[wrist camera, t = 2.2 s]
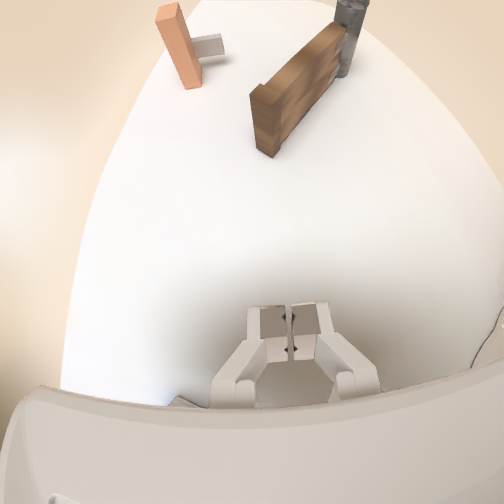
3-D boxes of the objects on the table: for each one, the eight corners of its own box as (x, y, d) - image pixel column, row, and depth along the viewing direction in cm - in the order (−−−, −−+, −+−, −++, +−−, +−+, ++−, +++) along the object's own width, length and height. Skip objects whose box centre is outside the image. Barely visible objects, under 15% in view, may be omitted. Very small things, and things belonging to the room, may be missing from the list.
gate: (322, 71, 30) (332, 16, 20) (336, 79, 29) (351, 24, 20) (256, 148, 29) (249, 94, 20) (272, 157, 29) (271, 105, 19)
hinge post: (345, 61, 30) (366, -18, 17) (351, 78, 30) (377, -3, 16) (321, 61, 31) (335, -22, 17) (326, 78, 30) (344, -8, 16)
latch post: (227, 62, 31) (211, -8, 19) (228, 83, 31) (210, 9, 19) (187, 69, 32) (160, 3, 20) (185, 89, 31) (154, 21, 19)
